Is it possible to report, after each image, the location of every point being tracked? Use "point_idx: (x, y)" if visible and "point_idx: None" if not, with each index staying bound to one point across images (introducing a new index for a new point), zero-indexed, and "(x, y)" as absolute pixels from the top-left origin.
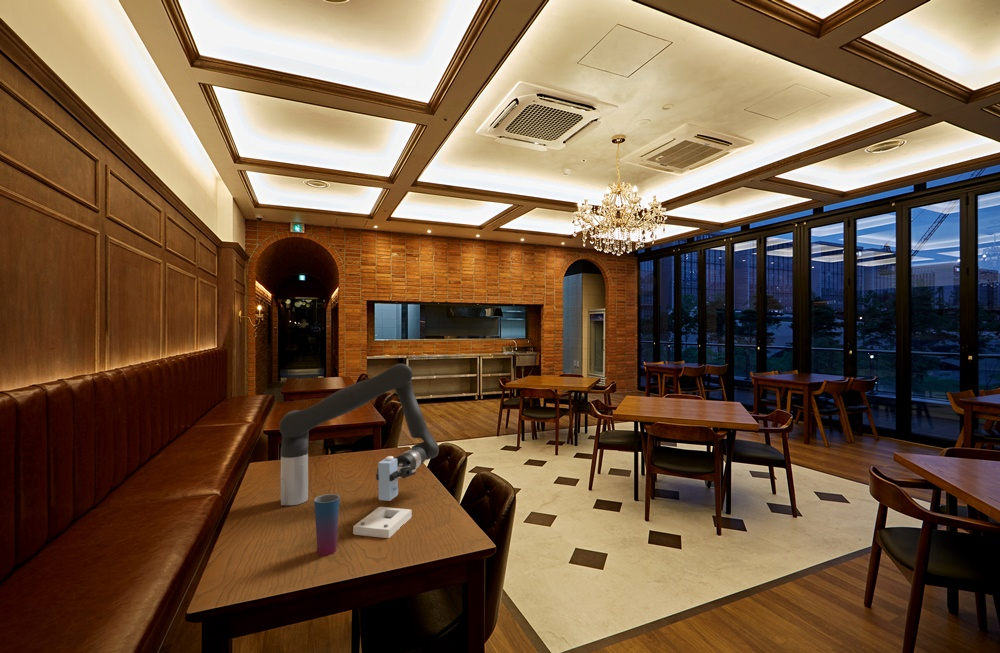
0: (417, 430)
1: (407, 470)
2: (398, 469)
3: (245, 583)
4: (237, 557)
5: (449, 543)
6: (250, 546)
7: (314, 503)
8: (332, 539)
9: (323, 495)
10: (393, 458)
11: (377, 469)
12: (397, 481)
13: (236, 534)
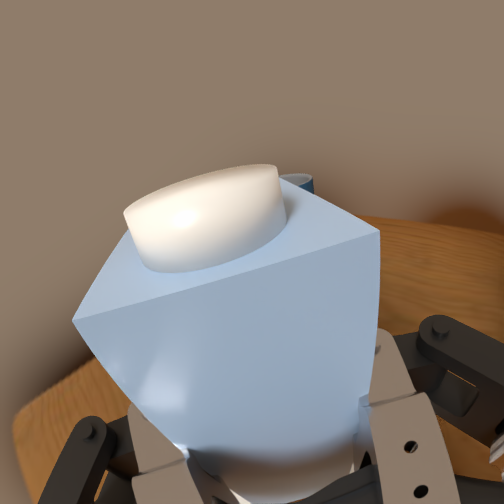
0: None
1: (65, 464)
2: (160, 445)
3: None
4: (398, 230)
5: (62, 420)
6: (426, 240)
7: (293, 180)
8: None
9: (308, 180)
10: (169, 294)
11: (435, 318)
12: (233, 489)
13: (483, 236)
